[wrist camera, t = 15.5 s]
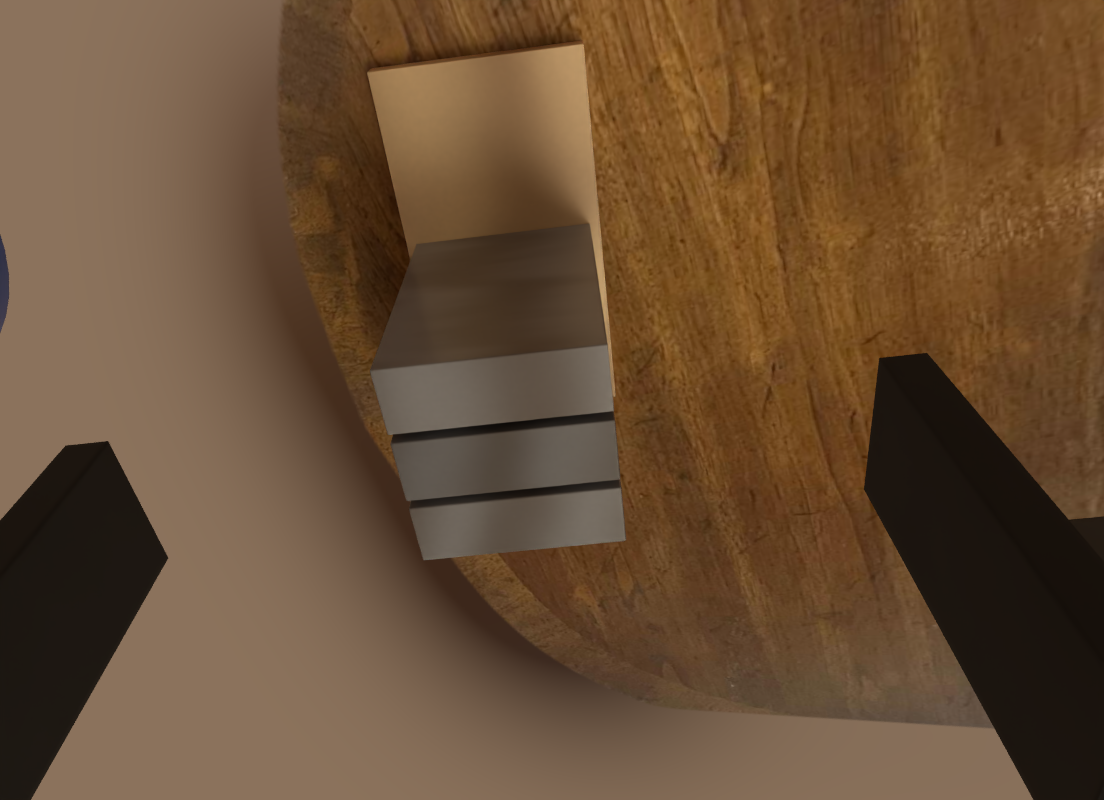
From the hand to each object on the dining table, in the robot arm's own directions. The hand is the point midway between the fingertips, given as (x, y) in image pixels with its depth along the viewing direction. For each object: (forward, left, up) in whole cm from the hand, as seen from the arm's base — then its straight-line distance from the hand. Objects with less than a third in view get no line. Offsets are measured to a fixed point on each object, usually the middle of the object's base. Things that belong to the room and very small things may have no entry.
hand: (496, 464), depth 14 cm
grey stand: (-2, -7, -29) cm, 30 cm away
